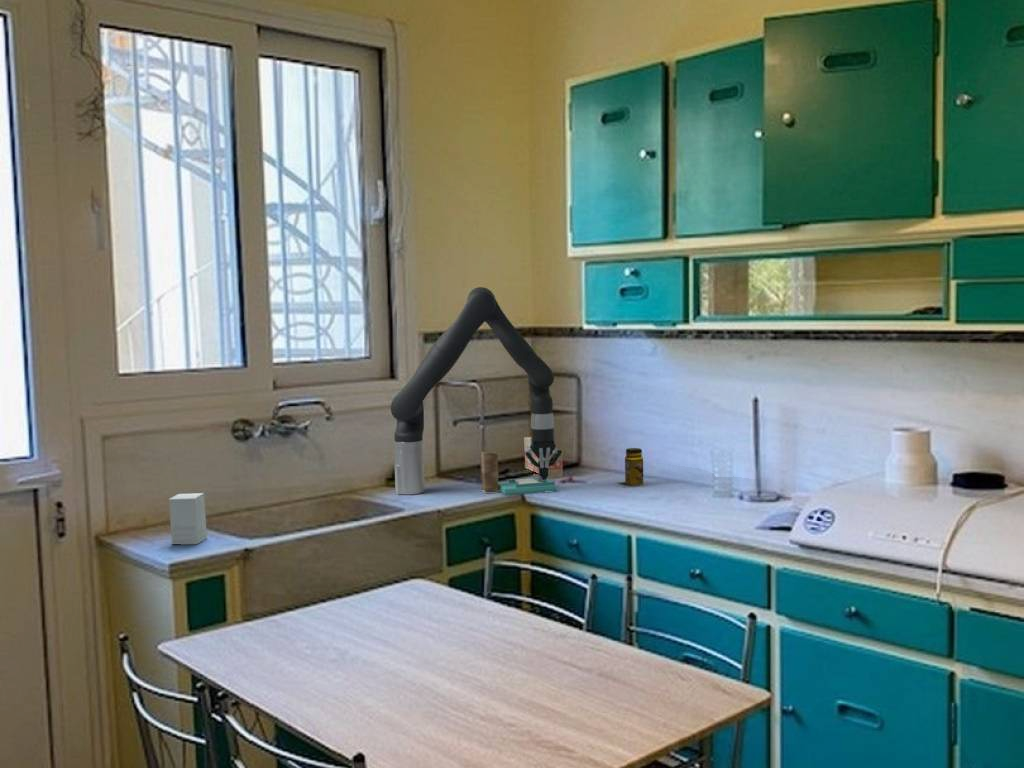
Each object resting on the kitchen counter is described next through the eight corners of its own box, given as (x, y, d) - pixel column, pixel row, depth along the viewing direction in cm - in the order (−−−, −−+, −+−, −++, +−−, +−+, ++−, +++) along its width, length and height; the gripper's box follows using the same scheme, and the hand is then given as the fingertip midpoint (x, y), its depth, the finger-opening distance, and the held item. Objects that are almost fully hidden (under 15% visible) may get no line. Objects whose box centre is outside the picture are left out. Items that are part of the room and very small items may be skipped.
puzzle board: (505, 495, 324) (504, 486, 323) (496, 488, 335) (496, 479, 335) (555, 491, 328) (555, 482, 328) (545, 485, 339) (545, 476, 339)
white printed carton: (563, 477, 354) (562, 442, 353) (547, 479, 351) (546, 444, 350) (540, 468, 374) (539, 435, 372) (524, 469, 371) (523, 436, 370)
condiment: (647, 486, 333) (646, 450, 332) (622, 487, 332) (621, 451, 331) (641, 482, 340) (640, 446, 339) (616, 483, 339) (616, 448, 338)
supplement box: (207, 538, 276) (205, 492, 275) (197, 544, 269) (195, 498, 268) (181, 538, 277) (178, 493, 276) (170, 545, 269) (167, 498, 268)
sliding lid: (521, 486, 327) (521, 479, 327) (515, 481, 335) (515, 475, 334) (543, 484, 329) (543, 477, 328) (536, 480, 336) (536, 473, 336)
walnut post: (485, 493, 328) (483, 453, 327) (482, 490, 332) (480, 451, 331) (498, 492, 329) (497, 452, 328) (495, 489, 333) (494, 451, 332)
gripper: (526, 429, 326) (527, 482, 328) (565, 427, 329) (566, 479, 331) (520, 426, 333) (521, 478, 335) (558, 424, 337) (559, 475, 338)
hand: (543, 478), depth 333 cm, fingers closed
